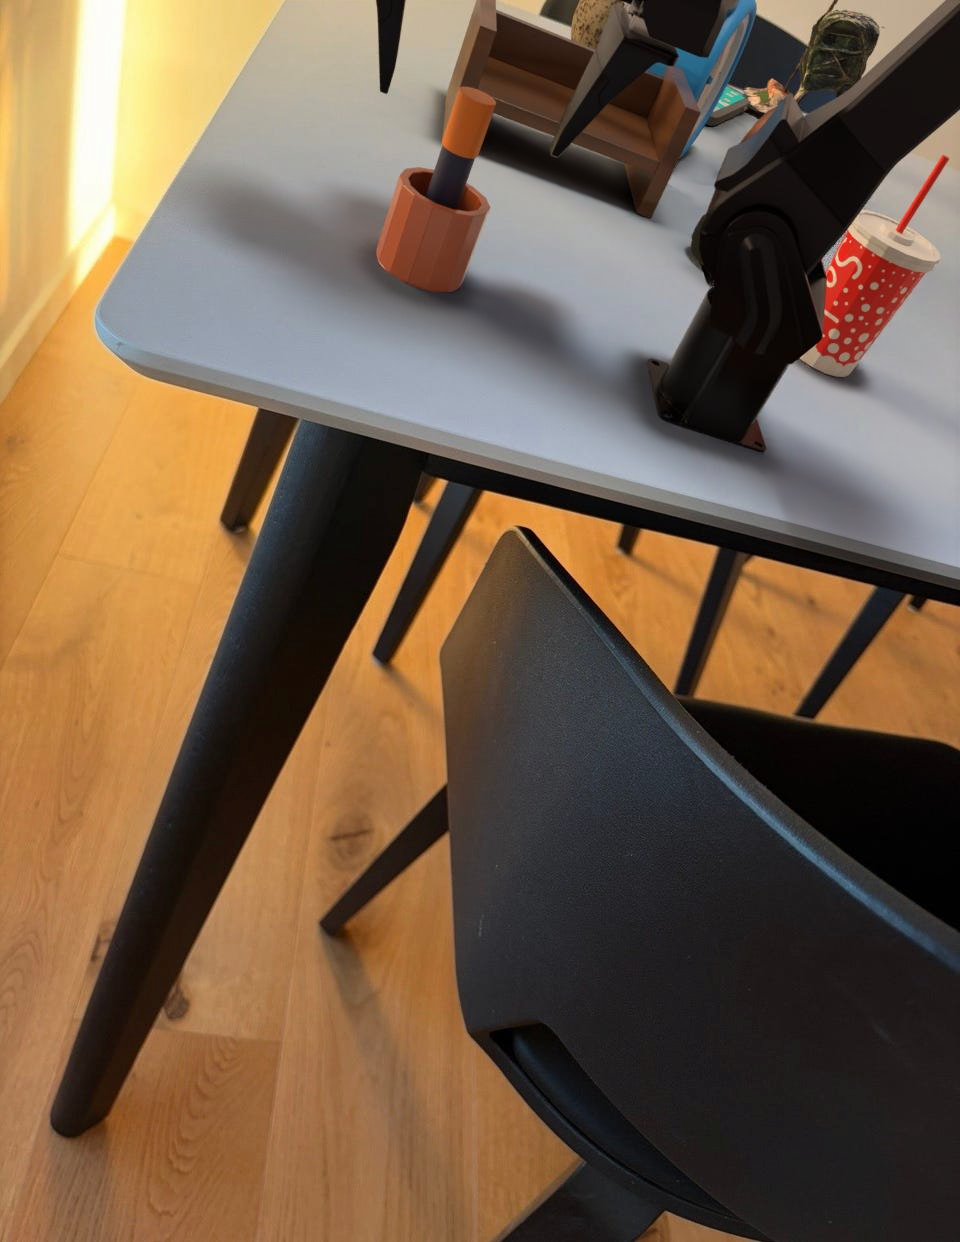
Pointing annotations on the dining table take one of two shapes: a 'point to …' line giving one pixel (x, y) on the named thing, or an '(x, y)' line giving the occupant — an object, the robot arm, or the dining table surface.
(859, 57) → the plant with pod
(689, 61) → the alarm clock
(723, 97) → the smartphone
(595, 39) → the decorative egg
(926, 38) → the robot arm
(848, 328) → the beverage cup
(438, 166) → the marker
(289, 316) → the dining table surface
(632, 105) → the shelf
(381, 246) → the pen cup
